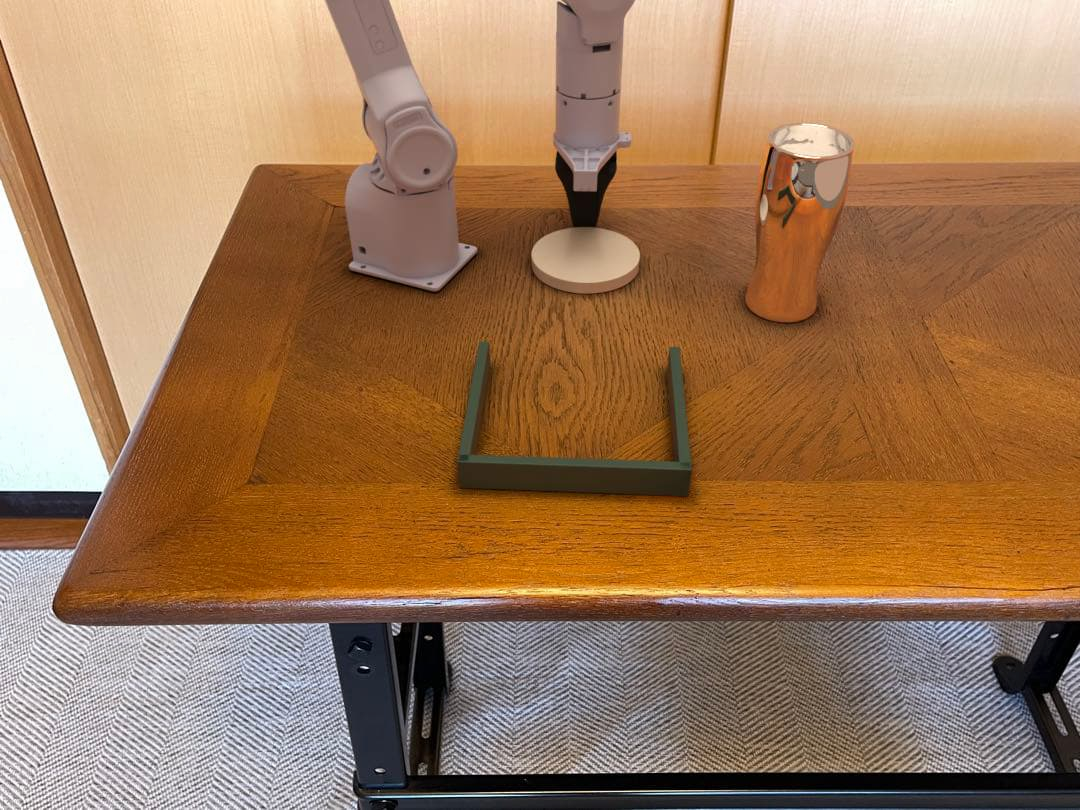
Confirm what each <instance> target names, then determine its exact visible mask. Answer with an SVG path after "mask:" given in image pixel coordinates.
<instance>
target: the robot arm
mask: <svg viewBox="0 0 1080 810" xmlns="http://www.w3.org/2000/svg"><path fill="white" fill-rule="evenodd" d="M561 1H562V2H561ZM635 1H636V0H560V1H559V0H557V1H556V32H555V112H554V113H555V117H554V118H555V120H554V121H555V123H554V124H555V129H554V132H553V135H552V144H553V146H554V148H555V149H556V152H555V153H556V155H555V162H554V168H555V169H554V170H555V173H556V175H557V178H558V179H559V181H560V182H561V185H562V186H563V189H564V192H565V194H566V200H567V204H568V210H569V214H570V219H571V225H572V228H575V227H594V228H597V224H598V222H599V217H600V212H601V209H602V204H603V201H604V197H605V194H606V192H607V189H608V187H609V185H610V183H612V181H613V179H614V178H615V176H616V173H617V170H618V161H617V160H618V153H617V151H618V149H621V148H622V149H623V148H625V149H626V148H630V147H631V146H632V134H631V132H629V131H622V130H621V131H620V114H621V113H620V112H621V93H622V91H621V90H622V74H623V53H624V52H623V51H624V37H625V36H624V35H625V34H624V31H625V30H624V28H625V18H626V16H627V14H628V12H629V11H630V10H631V8H633V7H632V6H633V5H634V4H635ZM324 2H325V5H326V7H327V10H328V12H329V15H330V17H331V19H332V22H333V24H334V27H335V29H336V31H337V34H338V36H339V39H340V41H341V43H342V46H343V49H344V52H345V54H346V57H347V58H348V60H349V61H348V62H349V64H350V66H351V68H352V70H353V73H354V77H355V81H356V83H357V86H358V88H359V92H360V94H361V98H362V113H361V122H362V128H363V130H364V132H365V134H366V136H367V137H368V138H369V140H370V141H371V142H372V144H373V146H374V149H375V151H376V153H375V155H374V157H373V160H372V162H365V163H362V164H360V165H358V166H357V167H356V169H355V170H354V171H353V172H352V174H351V175H350V177H349V179H348V182H347V185H346V189H345V195H344V207H345V214H346V221H347V222H346V223H347V229H348V234H349V241H350V247H351V254H352V259H353V260H352V261H351V262H350V263H349V264H348V269H349V270H350V271H352V272H356V273H359V274H364V275H366V276H367V275H368V276H371V277H376V278H380V279H383V280H388V281H392V282H394V283H398V284H399V283H400V284H403V285H408V286H411V287H415V288H419V289H422V290H426V291H430V292H439V291H440V290H441V289H443V288H444V286H445V285H446V284H448V282H449V281H450V280H452V278H453V277H455V275H456V274H457V273H458V272H459V271H460V270H462V268H463V267H464V266H465V265H466V264H467V263H469V261H471V260H472V259H473V258H474V256H475V255H476V254H477V253H478V247H477V246H475V245H470V244H466V243H462V242H460V241H459V229H458V227H459V226H458V216H457V215H458V213H457V200H456V188H455V187H456V185H455V184H456V183H455V172H454V171H455V168H456V166H457V162H458V155H459V152H458V151H459V148H458V143H457V140H456V137H455V136H454V134H453V132H452V131H451V130H450V128H448V126H447V125H445V123H443V121H442V119H441V118H440V116H439V115H438V113H437V111H436V110H435V109H434V108H433V105H432V103H431V102H432V101H431V100H430V98H429V95H427V93H426V91H425V88H424V86H423V85H422V82H421V79H420V78H419V75H418V74H417V72H416V69H415V67H414V65H413V62H412V59H411V57H410V54H409V50H408V48H407V45H406V43H405V40H404V37H403V35H402V32H401V28H400V27H399V23H398V21H397V18H396V16H395V13H394V10H393V7H392V4H391V1H390V0H324Z"/></svg>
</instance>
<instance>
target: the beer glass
mask: <svg viewBox="0 0 1080 810" xmlns="http://www.w3.org/2000/svg"><path fill="white" fill-rule="evenodd" d="M766 139H767V140H766V144H765V148H764V153H763V156H762V160H761V165H760V170H759V174H758V180H757V185H756V192H755V203H754V204H755V206H754V207H755V208H754V209H755V210H754V219H755V220H754V223H755V224H754V225H755V249H756V251H755V264H754V268H753V272H752V275H751V279H750V281H749V284H748V286H747V289H746V292H745V296H744V301H745V304H746V307H747V308H748V309H749V310H750V311H751V312H752V313H753V314H755V315H756V316H758V317H760V318H762V319H764V320H767V321H771V322H775V323H785V324H786V323H798V322H801V321H804V320H807V319H808V318H810V317H812V316H813V314H814V313H815V312H816V309H817V305H818V280H819V274H820V269H821V266H822V263H823V261H824V258H825V256H826V254H827V251H828V249H829V246H830V244H831V242H832V240H833V238H834V235H835V232H836V231H837V228H838V226H839V222H840V219H841V217H842V214H843V212H844V207H845V205H846V200H847V195H848V191H849V185H850V180H851V172H852V167H853V166H852V165H853V157H854V150H855V148H856V147H855V146H856V142H855V140H854V138H853V137H852V136H851V135H850V134H849V133H847V132H846V131H844V130H841V129H839V128H836V127H834V126H830V125H827V124H821V123H814V122H813V123H812V122H792V123H786V124H782V125H778V126H777V127H774V128H772V129H771V130H770V131H769V132H768V134H767V138H766Z"/></svg>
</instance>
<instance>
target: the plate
mask: <svg viewBox="0 0 1080 810" xmlns="http://www.w3.org/2000/svg"><path fill="white" fill-rule="evenodd" d="M530 259H531V260H530V262H531V265H530V266H531V270H532V272H533V274H534V276H535V277H536V278H537V279H538V280H539V281H540V282H542V283H543V284H545V285H547V286H548V287H551V288H553V289H556V290H559V291H563V292H568V293H571V294H572V293H573V294H586V295H589V294H600V293H606V292H610V291H615V290H618V289H619V288H622V287H624V286H626V285H628V284H629V283H630V282H632V281H633V280H634V279H635V278H636V277H637V275H638V273H639V270H640V263H641V253H640V249H639V247H638V245H636V244H635V242H633V240H632V239H630V238H629V237H627V236H626V235H624V234H621V233H619V232H617V231H613V230H610V229H607V228H601V227H595V228H594V227H575V228H574V227H567V228H563V229H559V230H555V231H552V232H550V233H547V234H546V235H544V236H542V237H541V238H540V239H538V240H537V241H536V242H535V243H534V245H533V247H532V249H531V253H530Z"/></svg>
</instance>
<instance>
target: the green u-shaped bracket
mask: <svg viewBox="0 0 1080 810" xmlns="http://www.w3.org/2000/svg"><path fill="white" fill-rule="evenodd" d="M490 350H491V349H490V341H479V342H478V347H477V352H476V357H475V363H474V369H473V373H472V378H471V384H470V389H469V395H468V400H467V406H466V411H465V416H464V422H463V427H462V432H461V438H460V442H459V443H460V444H459V449H458V454H457V458H456V459H457V460H456V467H457V476H458V477H457V478H458V487H459V489H479V490H506V491H507V490H508V491H509V490H510V491H532V492H533V491H534V492H535V491H538V492H562V493H563V492H565V493H586V494H587V493H591V494H616V495H617V494H618V495H619V494H620V495H642V496H643V495H644V496H646V495H648V496H674V497H689V495H690V489H691V488H690V487H691V481H692V472H693V465H692V457H691V456H692V455H691V447H690V436H689V427H688V416H687V406H686V396H685V386H684V378H683V377H684V376H683V366H682V357H681V348H680V347H679V346H669V348H668V357H667V366H666V378H667V392H668V405H669V417H670V428H671V429H670V430H671V442H672V455H673V461H668V460H667V461H666V460H665V461H664V460H637V459H635V460H634V459H607V458H578V457H577V458H576V457H553V456H551V457H550V456H521V455H494V454H493V455H492V454H491V455H489V454H477V452H478V446H479V439H480V433H481V428H482V421H483V416H484V408H485V402H486V397H487V391H488V384H489V378H490V371H491V351H490Z"/></svg>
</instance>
